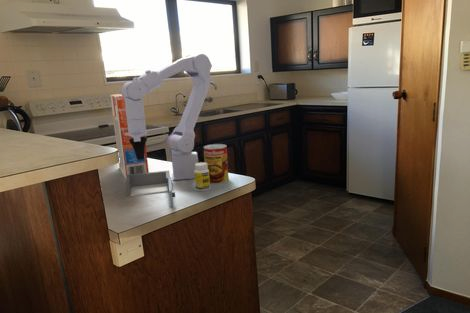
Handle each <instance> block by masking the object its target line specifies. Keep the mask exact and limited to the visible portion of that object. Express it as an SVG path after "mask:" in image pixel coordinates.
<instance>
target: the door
mask: <svg viewBox="0 0 470 313" xmlns="http://www.w3.org/2000/svg"><path fill="white" fill-rule="evenodd" d="M168 182H169V193H168V195H169V203H170V207H174V198H176V192H175V191H173V179H172V176H170V177H169V178H168Z"/></svg>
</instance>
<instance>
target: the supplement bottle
mask: <svg viewBox="0 0 470 313" xmlns="http://www.w3.org/2000/svg"><path fill="white" fill-rule="evenodd" d="M207 168H208V165H207V163H205V161H203V162H201V161H200V162H198V163H196V164H195V169H196V170H195V171H194V175H195V178H194V183H195V184H194V185H195V186H194V187H195V190H196V192H197V191H198V192H204V191H205V192H206V191H208V190H210V189H211V183H210V178H209V169H207Z"/></svg>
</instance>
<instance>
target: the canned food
mask: <svg viewBox="0 0 470 313" xmlns="http://www.w3.org/2000/svg"><path fill="white" fill-rule="evenodd" d="M203 156H204V157H203V158H204V161H203V162H205V163H207V165H208V168H207V169H209V178H210V184H213V185H214V184H215V185H216V184H217V185H218V184H223V183H226V182H228V181H229V165H228V148H227V145H226V144H223V143H213V144H207V145H205V146H204V145H203Z"/></svg>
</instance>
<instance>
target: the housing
mask: <svg viewBox="0 0 470 313" xmlns="http://www.w3.org/2000/svg"><path fill="white" fill-rule="evenodd" d="M169 177H171V173H170V170H159V171H151V172H150V171H149V173H140V174H130V175H127V177H126V179H125V181H124V187H125V194H126V197H127V196H128V197H134V196H143V195H145V196H146V195H152V194H153V193H154V194H161V193H168V192H169V182H168V178H169Z"/></svg>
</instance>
